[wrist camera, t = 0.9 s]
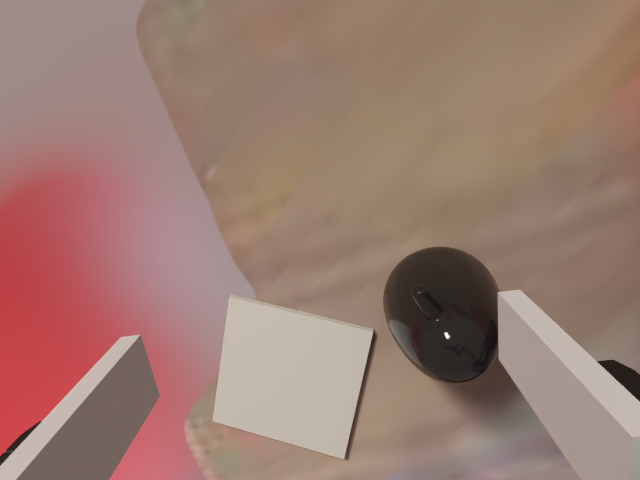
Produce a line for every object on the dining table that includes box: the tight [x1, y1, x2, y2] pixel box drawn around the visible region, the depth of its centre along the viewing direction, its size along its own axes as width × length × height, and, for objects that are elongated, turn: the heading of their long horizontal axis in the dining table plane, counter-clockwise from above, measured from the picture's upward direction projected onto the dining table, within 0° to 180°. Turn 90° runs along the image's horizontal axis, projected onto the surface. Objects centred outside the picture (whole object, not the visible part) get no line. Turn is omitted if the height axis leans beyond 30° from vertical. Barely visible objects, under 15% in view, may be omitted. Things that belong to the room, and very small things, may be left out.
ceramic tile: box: [213, 295, 374, 459], centre depth 45 cm, size 16×16×1 cm
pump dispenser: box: [383, 247, 499, 384], centre depth 33 cm, size 10×10×15 cm
